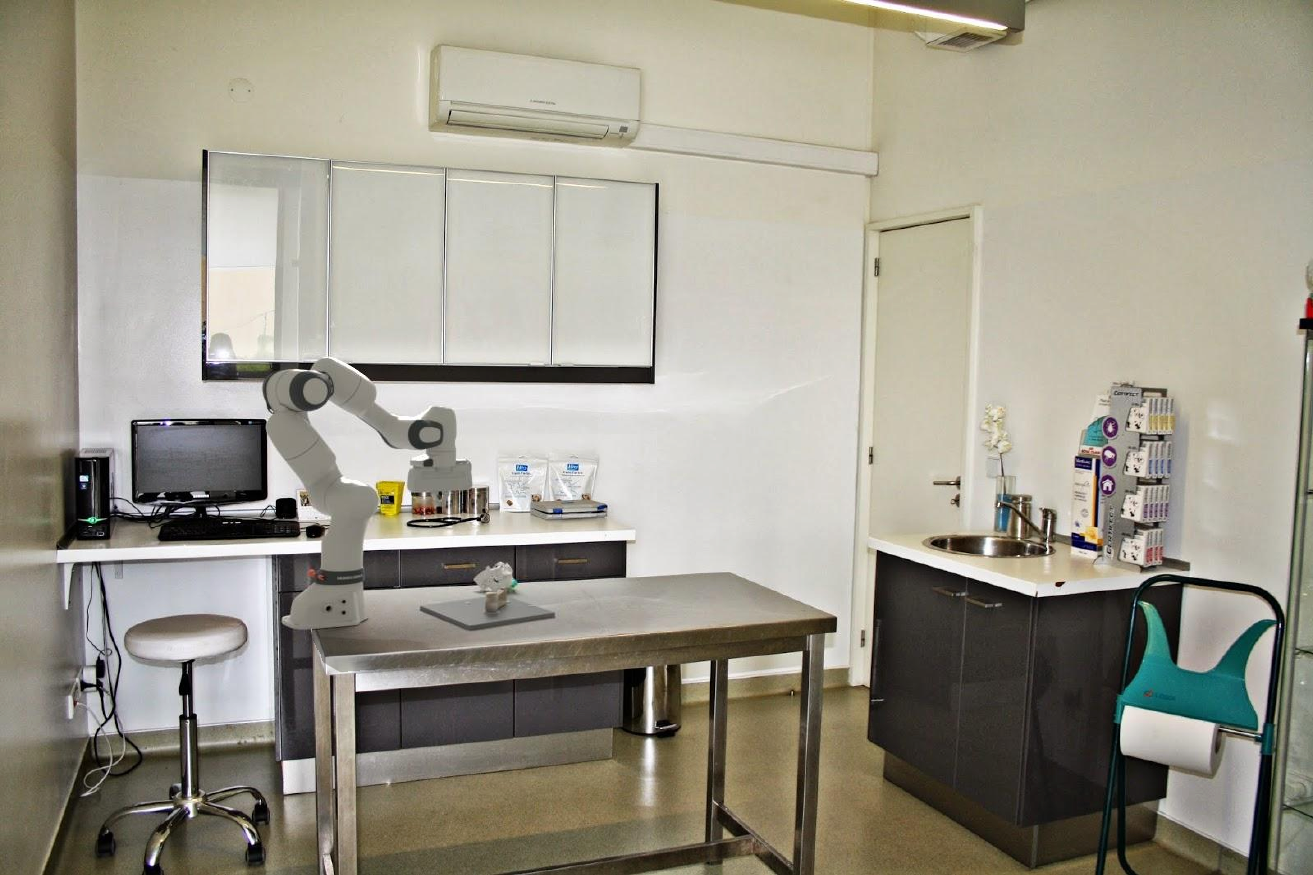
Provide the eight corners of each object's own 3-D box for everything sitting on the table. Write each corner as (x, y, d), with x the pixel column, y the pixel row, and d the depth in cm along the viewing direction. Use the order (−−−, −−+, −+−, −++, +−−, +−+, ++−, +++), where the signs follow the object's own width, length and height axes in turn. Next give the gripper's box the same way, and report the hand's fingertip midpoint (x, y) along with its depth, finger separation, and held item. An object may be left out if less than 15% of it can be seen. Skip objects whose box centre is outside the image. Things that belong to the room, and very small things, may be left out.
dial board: (469, 630, 269) (469, 624, 269) (420, 609, 290) (420, 605, 290) (554, 616, 288) (554, 611, 288) (502, 598, 309) (502, 594, 309)
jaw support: (501, 586, 312) (486, 562, 316) (487, 603, 316) (473, 579, 320) (528, 581, 321) (514, 558, 325) (515, 598, 325) (501, 575, 329)
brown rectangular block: (483, 612, 284) (483, 594, 284) (498, 601, 298) (498, 584, 297) (495, 613, 283) (496, 594, 283) (509, 602, 297) (510, 585, 297)
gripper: (466, 458, 308) (465, 503, 308) (405, 460, 294) (404, 506, 295) (476, 460, 303) (475, 505, 304) (415, 462, 289) (414, 509, 290)
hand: (440, 506), depth 299 cm, fingers closed
